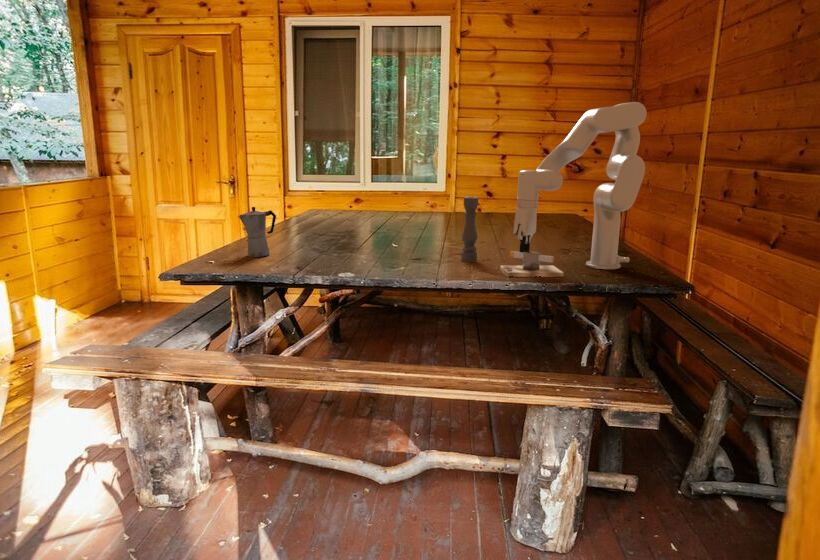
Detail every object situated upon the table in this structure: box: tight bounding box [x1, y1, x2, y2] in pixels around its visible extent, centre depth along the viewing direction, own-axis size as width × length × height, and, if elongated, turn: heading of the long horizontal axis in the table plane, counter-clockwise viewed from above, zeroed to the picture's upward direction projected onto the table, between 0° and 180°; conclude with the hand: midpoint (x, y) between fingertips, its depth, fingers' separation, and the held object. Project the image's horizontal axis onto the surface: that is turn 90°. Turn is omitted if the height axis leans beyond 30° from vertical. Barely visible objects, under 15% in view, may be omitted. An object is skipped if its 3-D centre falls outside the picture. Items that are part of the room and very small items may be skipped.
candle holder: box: [460, 196, 479, 263], centre depth 222 cm, size 6×6×25 cm
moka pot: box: [238, 206, 277, 258], centre depth 229 cm, size 10×15×20 cm, turn 127°
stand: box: [499, 264, 564, 278], centre depth 204 cm, size 20×12×2 cm, turn 93°
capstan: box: [509, 250, 555, 270], centre depth 203 cm, size 16×6×6 cm, turn 53°
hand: (524, 253), depth 210 cm, fingers closed
